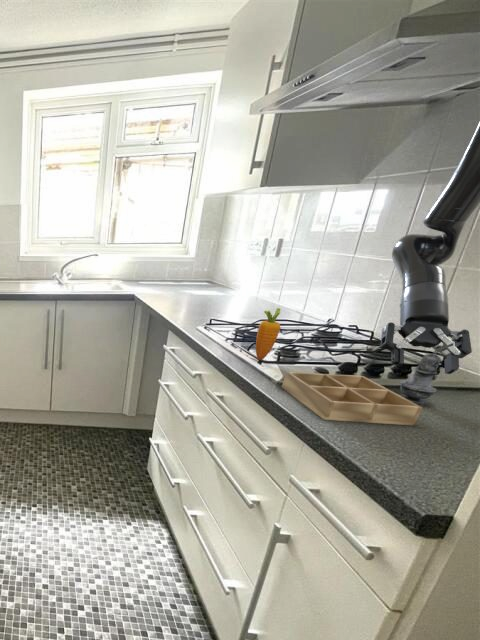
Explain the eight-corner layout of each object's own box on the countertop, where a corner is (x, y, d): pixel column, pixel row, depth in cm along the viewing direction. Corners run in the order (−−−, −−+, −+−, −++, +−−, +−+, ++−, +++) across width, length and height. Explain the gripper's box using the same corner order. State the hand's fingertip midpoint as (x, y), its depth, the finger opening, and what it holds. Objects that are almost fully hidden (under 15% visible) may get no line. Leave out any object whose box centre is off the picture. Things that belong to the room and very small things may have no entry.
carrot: (253, 363, 116) (269, 310, 110) (246, 357, 120) (261, 305, 114) (273, 364, 115) (290, 311, 109) (264, 358, 120) (280, 306, 114)
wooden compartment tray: (356, 391, 99) (363, 375, 97) (413, 425, 84) (423, 407, 82) (281, 387, 101) (286, 371, 99) (324, 419, 86) (331, 402, 84)
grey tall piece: (404, 404, 92) (429, 354, 87) (387, 394, 98) (409, 345, 93) (436, 407, 91) (463, 356, 86) (417, 396, 96) (441, 347, 91)
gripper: (393, 294, 96) (392, 356, 91) (478, 301, 91) (482, 367, 86) (375, 312, 103) (373, 370, 98) (453, 319, 97) (456, 381, 92)
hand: (424, 369), depth 92 cm, fingers open, 8 cm apart
